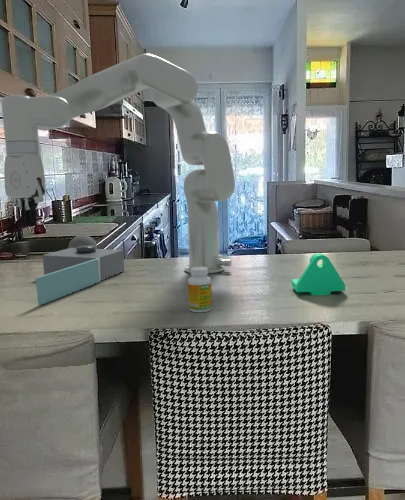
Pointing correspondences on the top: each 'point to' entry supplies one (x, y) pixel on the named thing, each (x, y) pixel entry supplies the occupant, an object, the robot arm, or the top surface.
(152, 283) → the top surface
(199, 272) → the supplement bottle
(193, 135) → the robot arm
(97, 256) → the grey box with knob
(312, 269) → the camera mount
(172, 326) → the top surface
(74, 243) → the decorative ball
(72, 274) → the door
